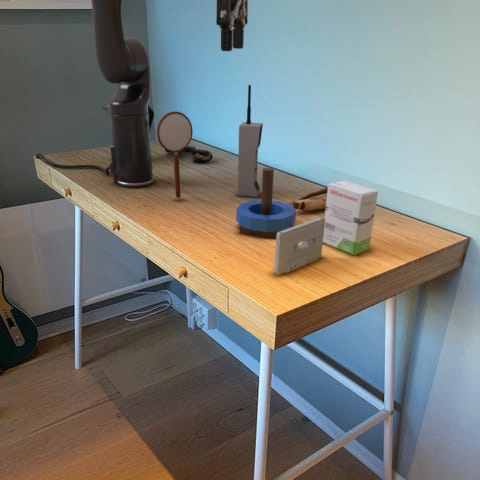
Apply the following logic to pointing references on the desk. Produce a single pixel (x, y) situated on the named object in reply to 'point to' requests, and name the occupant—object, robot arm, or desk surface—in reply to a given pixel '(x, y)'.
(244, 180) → the vintage mobile phone
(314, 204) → the lashed bone hook
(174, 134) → the magnifying glass
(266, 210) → the peg stand
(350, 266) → the desk surface
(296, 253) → the cassette
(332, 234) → the ink box
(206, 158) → the rubber snake
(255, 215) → the tape roll
